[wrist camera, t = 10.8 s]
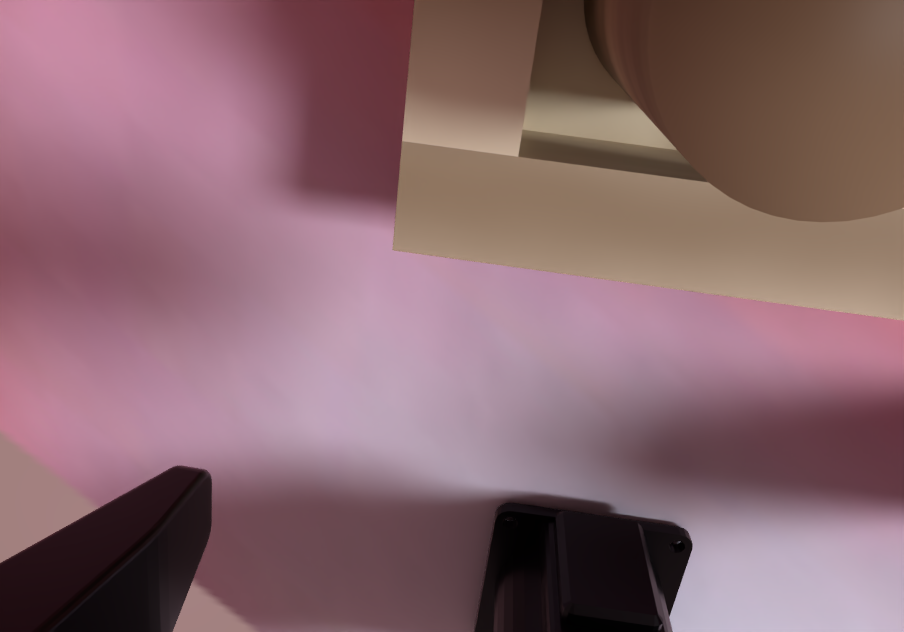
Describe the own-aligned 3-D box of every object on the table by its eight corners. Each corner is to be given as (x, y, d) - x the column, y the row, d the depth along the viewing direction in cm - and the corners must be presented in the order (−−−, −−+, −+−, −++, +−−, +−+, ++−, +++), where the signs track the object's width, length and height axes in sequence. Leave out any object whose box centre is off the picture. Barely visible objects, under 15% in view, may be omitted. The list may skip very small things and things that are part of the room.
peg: (770, 119, 18) (984, 246, 10) (565, 92, 18) (609, 195, 10) (841, -118, 16) (1191, -206, 8) (608, -148, 16) (710, -268, 8)
